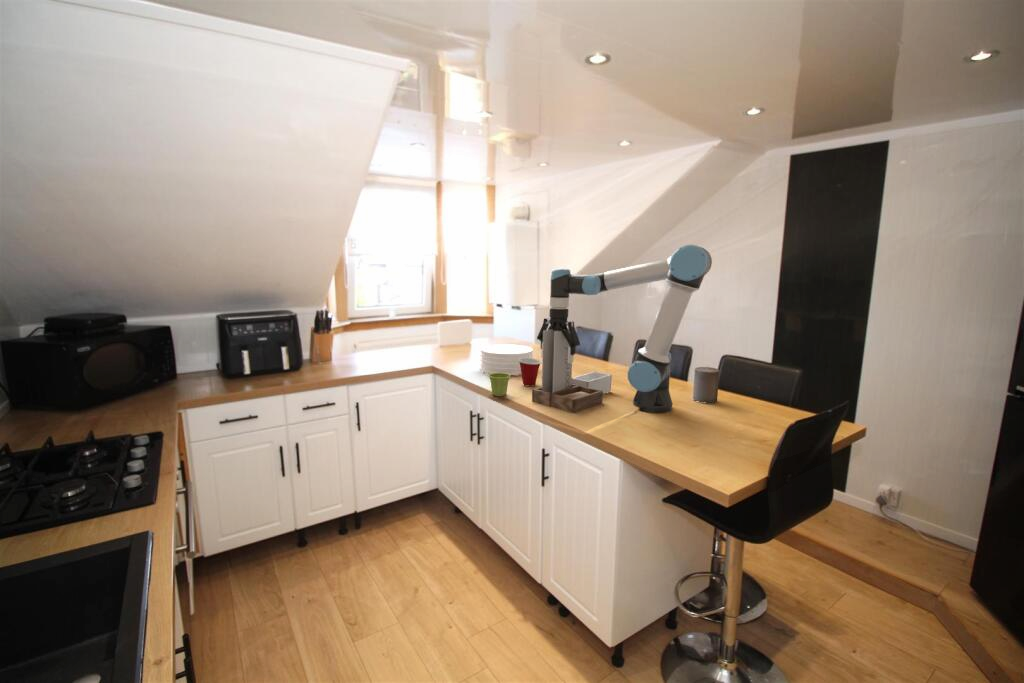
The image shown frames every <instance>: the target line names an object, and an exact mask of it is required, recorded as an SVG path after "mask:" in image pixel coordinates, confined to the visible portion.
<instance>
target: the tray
mask: <svg viewBox="0 0 1024 683" xmlns="http://www.w3.org/2000/svg"><path fill="white" fill-rule="evenodd" d="M580 391H581V392H585V393H588V395H585V396H582V397H579V398H576V399H571V398H567V397H564V396H562V395H567V394H571V393H576V392H580ZM603 394H604V393H603V391H601V390H597V389H592V388H588V387H584V386H580V385H575V384H571V388H567V389H564V390H561V391H557V392H554V393H548V392H544V391H542V386H540V387H539V386H538V387H536V388H532V391H531V397H532V398H531V402H533V403H537V404H540V405H542V406H548V407H551V408H554V409H558V410H560V411H565V412H567V413H568V412H569V413H572V414H576V413H579V412H581V411H584V410H586V409H589V408H593V407H595V406H597V405H600V404H602V403H603Z"/></svg>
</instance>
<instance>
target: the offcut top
mask: <svg viewBox="0 0 1024 683" xmlns="http://www.w3.org/2000/svg"><path fill="white" fill-rule="evenodd" d="M585 395H588V393H585V392H581V391H580V392H576V393H571V394H567V395H562V396H564V397H567V398H571V399H576V398H579V397H582V396H585Z"/></svg>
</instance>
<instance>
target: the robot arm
mask: <svg viewBox="0 0 1024 683" xmlns="http://www.w3.org/2000/svg"><path fill="white" fill-rule="evenodd" d="M712 260H713V259H712V256H711V253H710V252H709V251H708V250H707V249H705V248H704V247H701V246H698V245H696V244H695V245H694V244H686V245H683V246H681V247H679V248H678V249H676V250H674V252H673V253H672V254H671V255H670V256H669V257H668V258H664V259H660V260H656V261H651V262H646V263H642V264H641V263H640V264H636V265H632V266H628V267H624V268H619V269H614V270H609V271H606V272H601V273H595V274H572V273H571V270H570V269H568V268H567V269H566V268H553V269H552V270H551V272H550V273H551V276H550V293H549V294H550V296H549V307H550V308H549V315H548V316H549V317H547V318H543V321H542V322H543V323H542V326H541V327H540V330H539V332H538V334H537V337H536V340H539V341H540V350H541V359H543V331H546V330H551V329H553V330H554V331H557V330H558V331H562V333H563V334H564V336H565V338H566V340H567V341H568V343H569V345H570V346H569V347H568V363H572V364H573V363H574V355H576V347H578V346H580V345H581V342H580V339H579V337H578V333H577V331H576V328H575V321H573V320H572V321H571V320H570V321H568V318H569V309H568V308H569V305H570V304H569V303H570V294H571V295H587V296H596V295H598V294H601V293H604V292H608V291H614V290H617V289H623V288H628V287H633V286H638V285H639V286H640V285H643V284H651V283H655V282H659V281H664V280H665V281H666V283H667V287H666V288H665V292H664V295H663V297H662V300H661V302H660V306H659V308H658V310H657V313H656V315H655V318H654V320H653V323H652V326H651V328H650V330H649V333H648V337H647V338H646V342H645V344H644V346H643V347H642V348H641V347H640V348H639V349H638V351H637V353H636V356H635V357H634V361H633V363H632V364H631V365H630V366H629V368H628V370H627V380H628V381H629V384H630V385H631V386H632V387H633V389H635V390H636V393H635V394H634V397H633V399H632V404H633V406H635V407H637V409H638V410H639V411H641V412H642V411H643V412H647V413H653V414H655V413H656V414H658V413H659V414H660V413H663V414H664V413H669V412H671V411H672V410H673V400H672V396H671V393H670V379H671V378H670V377H671V368H672V367H671V366H672V364H671V363H672V361H673V360H672V354H671V353H670V349H671V348H672V344H673V343H674V339H675V337H676V334H677V333H678V330H679V327H680V326H681V322H682V320H683V317H684V315H685V313H686V310H687V308H688V304H689V302H690V300H691V297H692V295H693V293H694V292H696V291H699V290H700V287H701V285H702V282H703V280H704V277H705V275H707V274H708V273H709V272H710V270H711V268H712V264H713V261H712ZM568 329H569V330H568ZM569 332H570V333H569Z"/></svg>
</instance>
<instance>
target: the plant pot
mask: <svg viewBox="0 0 1024 683" xmlns="http://www.w3.org/2000/svg"><path fill="white" fill-rule="evenodd" d="M488 377H489V380H490V385H491V386H490V388H491V394H492V396H495V397H504V396H506V395H507V392H508V386H509V380H510V377H511V376H510V374H506V373H492V374H488Z"/></svg>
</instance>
